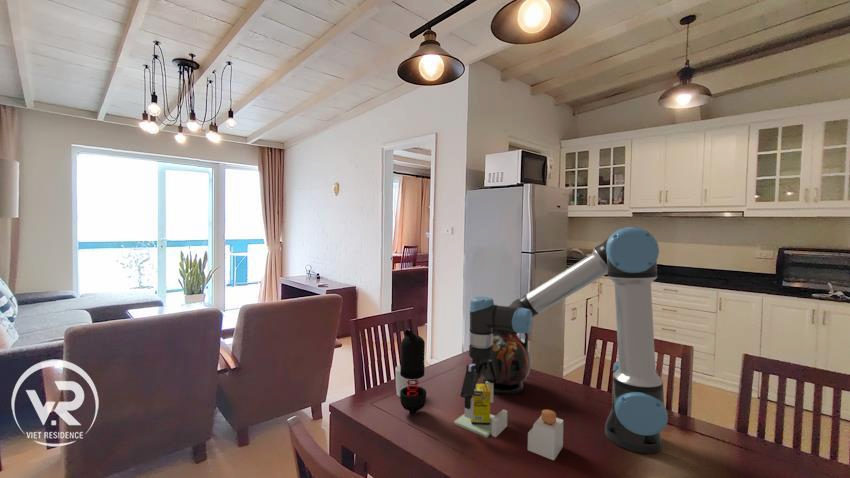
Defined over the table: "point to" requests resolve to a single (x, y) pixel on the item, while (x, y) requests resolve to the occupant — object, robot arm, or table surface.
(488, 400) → the supplement box
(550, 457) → the dock
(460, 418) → the pad
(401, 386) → the white cup
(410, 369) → the filter
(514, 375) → the amphora vase
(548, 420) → the brown egg
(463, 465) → the table surface
